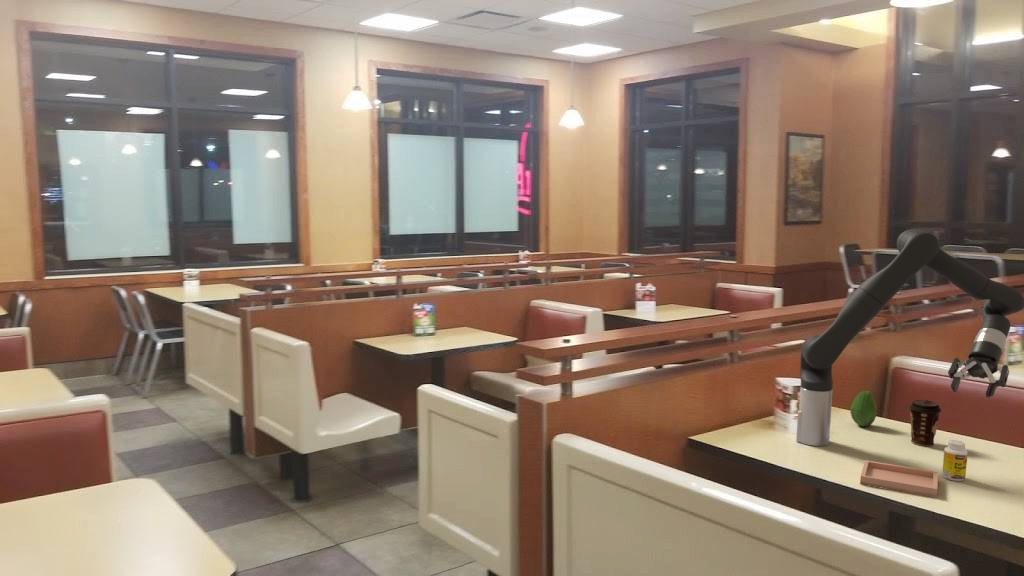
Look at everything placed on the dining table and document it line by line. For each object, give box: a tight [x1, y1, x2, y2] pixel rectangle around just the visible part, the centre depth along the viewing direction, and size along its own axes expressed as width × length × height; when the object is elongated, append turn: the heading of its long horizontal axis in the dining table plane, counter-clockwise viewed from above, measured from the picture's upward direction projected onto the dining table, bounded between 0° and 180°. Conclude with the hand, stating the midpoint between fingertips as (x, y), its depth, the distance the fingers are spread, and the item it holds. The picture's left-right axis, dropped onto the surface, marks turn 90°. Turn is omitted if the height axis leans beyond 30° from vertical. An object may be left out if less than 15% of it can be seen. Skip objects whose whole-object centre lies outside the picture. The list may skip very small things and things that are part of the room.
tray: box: [859, 459, 939, 498], centre depth 207 cm, size 18×14×2 cm
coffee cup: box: [908, 399, 942, 447], centre depth 238 cm, size 9×8×13 cm
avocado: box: [850, 390, 878, 427], centre depth 256 cm, size 8×8×12 cm
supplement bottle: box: [941, 439, 969, 482], centre depth 210 cm, size 6×6×10 cm
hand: (970, 393), depth 215 cm, fingers open, 8 cm apart
